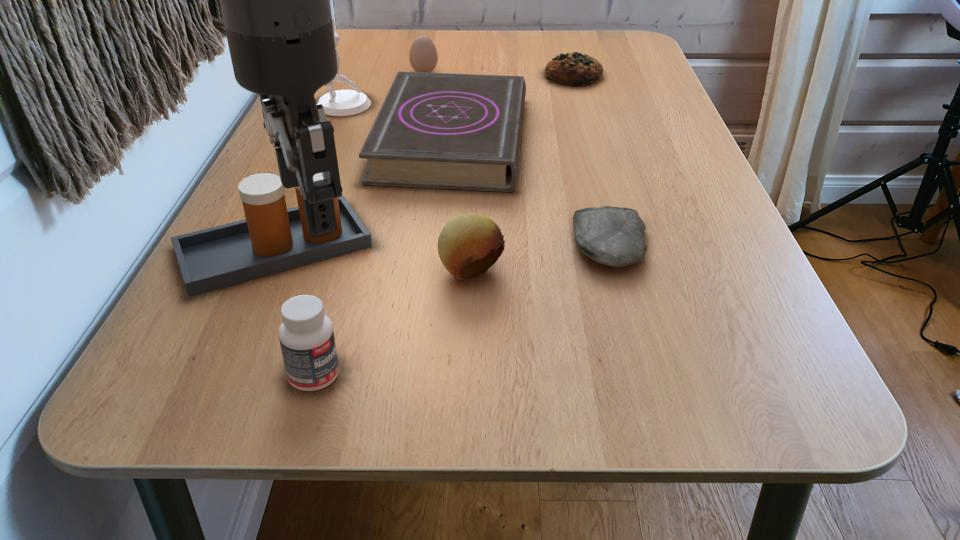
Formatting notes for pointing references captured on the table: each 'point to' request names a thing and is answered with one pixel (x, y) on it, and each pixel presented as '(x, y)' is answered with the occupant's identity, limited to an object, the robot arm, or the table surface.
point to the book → (447, 132)
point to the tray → (232, 260)
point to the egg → (423, 55)
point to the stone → (610, 235)
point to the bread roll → (574, 69)
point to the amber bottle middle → (266, 214)
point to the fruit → (470, 245)
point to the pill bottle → (307, 344)
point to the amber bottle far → (303, 217)
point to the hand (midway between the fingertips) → (308, 208)
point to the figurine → (343, 94)
